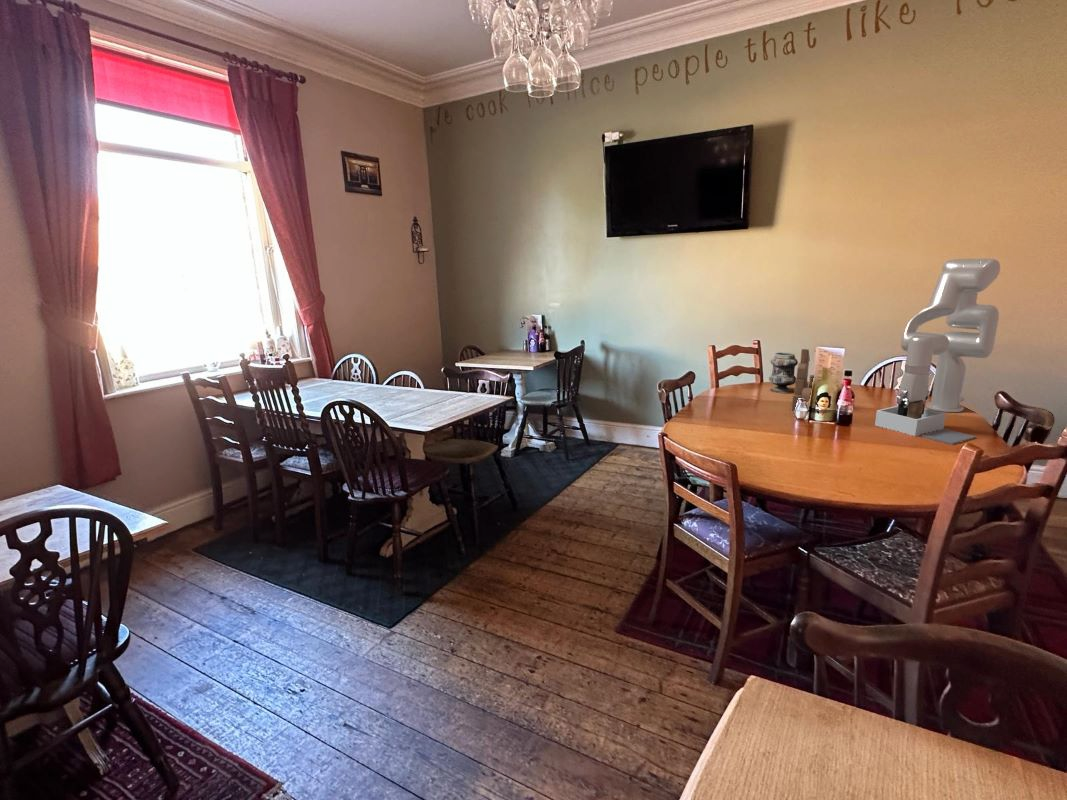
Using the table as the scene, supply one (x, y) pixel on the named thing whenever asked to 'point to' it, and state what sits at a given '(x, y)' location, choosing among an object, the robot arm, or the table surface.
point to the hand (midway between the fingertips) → (910, 415)
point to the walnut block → (915, 409)
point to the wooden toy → (802, 379)
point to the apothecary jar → (783, 372)
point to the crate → (910, 421)
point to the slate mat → (948, 436)
